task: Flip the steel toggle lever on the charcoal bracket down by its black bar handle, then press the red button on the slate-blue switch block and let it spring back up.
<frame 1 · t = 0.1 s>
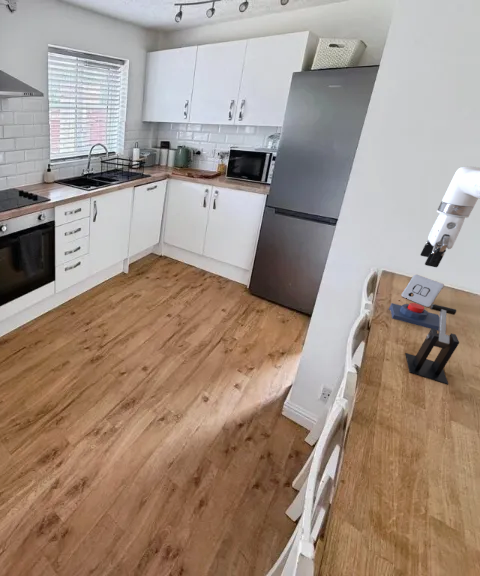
hand: (428, 261, 120), 19 cm above the table, tool pointing down, fingers open, 9 cm apart
switch block: (413, 320, 123), on the table
button: (415, 308, 122), point 4 cm above the table, slide at 0.1 cm
electrical switch: (416, 301, 137), on the table
lever: (442, 325, 97), point 12 cm above the table, hinge at 25.0°
bracket: (423, 370, 99), on the table
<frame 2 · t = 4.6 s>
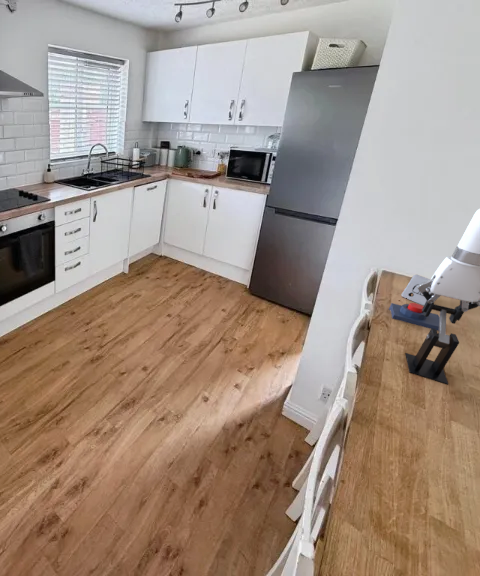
hand: (438, 317, 101), 12 cm above the table, tool pointing down, fingers closed on lever, 5 cm apart
lever: (442, 325, 97), point 12 cm above the table, hinge at 25.0°, touching gripper
everything else where it was.
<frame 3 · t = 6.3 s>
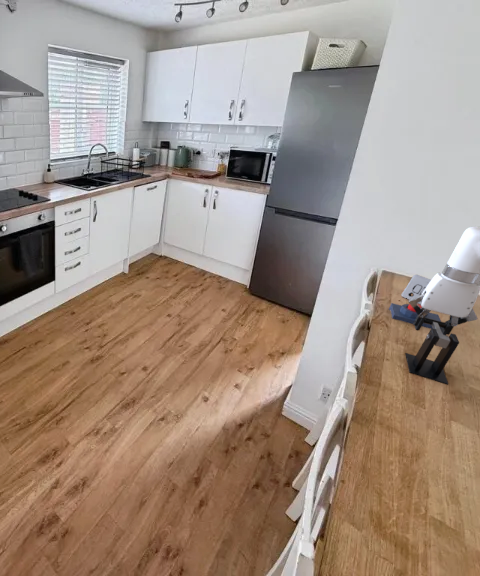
hand: (429, 331, 105), 7 cm above the table, tool pointing down, fingers closed on lever, 5 cm apart
lever: (437, 331, 99), point 10 cm above the table, hinge at -1.2°, touching gripper
everything else where it was.
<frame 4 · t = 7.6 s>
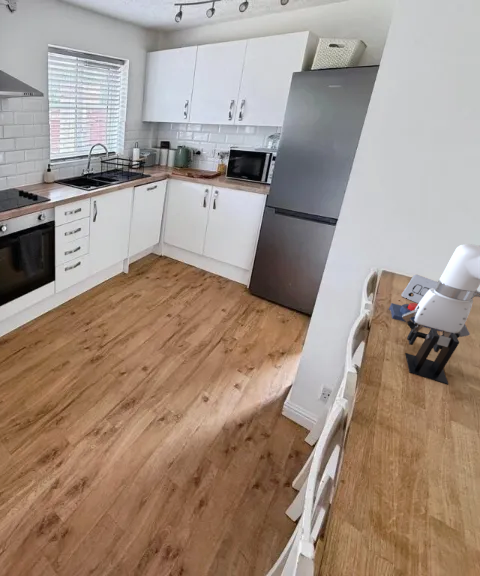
hand: (422, 345, 106), 2 cm above the table, tool pointing down, fingers closed on lever, 5 cm apart
lever: (434, 338, 99), point 8 cm above the table, hinge at -24.3°, touching gripper
everything else where it was.
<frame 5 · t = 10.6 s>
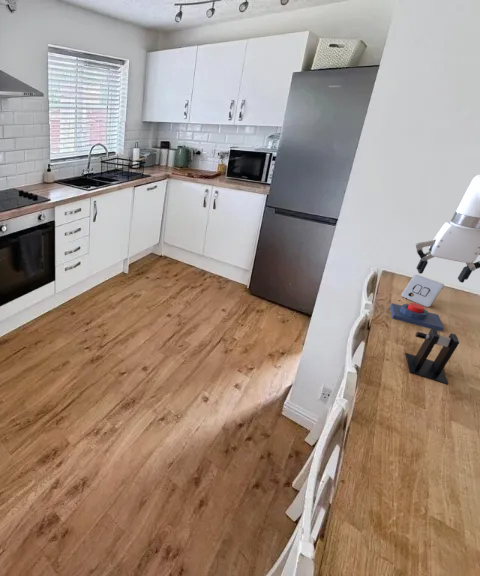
hand: (439, 276, 110), 19 cm above the table, tool pointing down, fingers open, 9 cm apart
lever: (434, 338, 99), point 8 cm above the table, hinge at -24.6°
everything else where it was.
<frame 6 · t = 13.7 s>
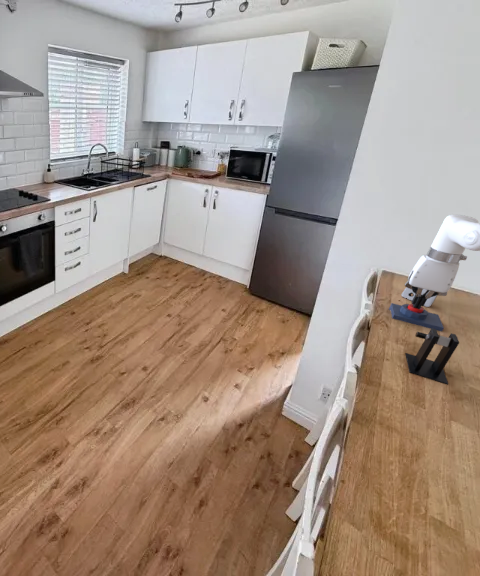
hand: (416, 306, 122), 5 cm above the table, tool pointing down, fingers closed
button: (415, 309, 122), point 4 cm above the table, slide at -0.3 cm, touching gripper
everything else where it was.
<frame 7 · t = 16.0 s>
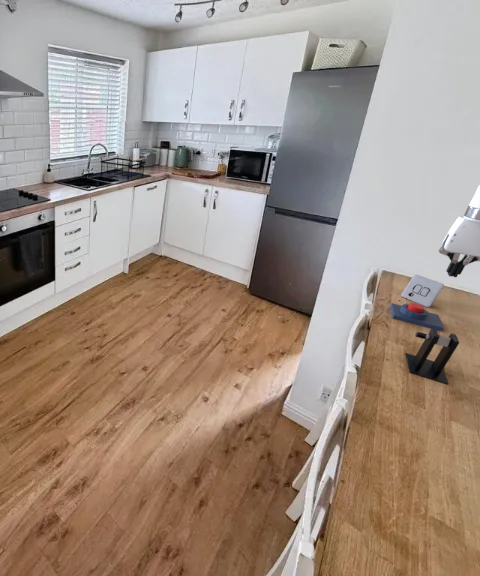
hand: (451, 275, 110), 19 cm above the table, tool pointing down, fingers closed
button: (415, 308, 122), point 4 cm above the table, slide at 0.1 cm
everything else where it was.
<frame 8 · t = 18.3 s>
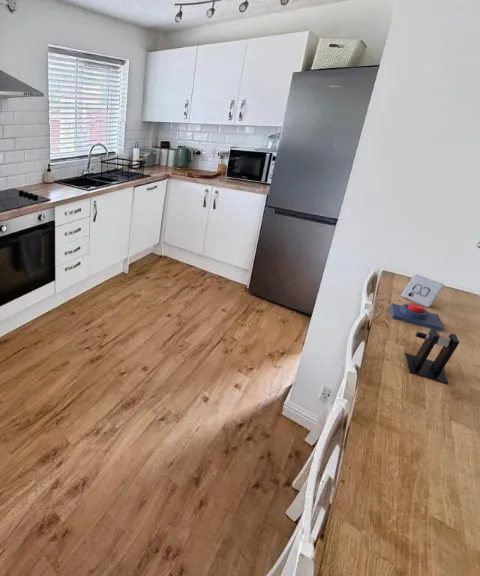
nothing on the table moved.
at the end: lever at -25° (first picture: +25°); button pushed in 1.1 cm at the most during the clip, back to where it started at the end; button slide at 0.1 cm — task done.
